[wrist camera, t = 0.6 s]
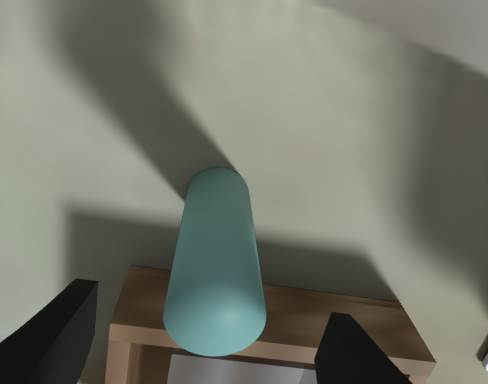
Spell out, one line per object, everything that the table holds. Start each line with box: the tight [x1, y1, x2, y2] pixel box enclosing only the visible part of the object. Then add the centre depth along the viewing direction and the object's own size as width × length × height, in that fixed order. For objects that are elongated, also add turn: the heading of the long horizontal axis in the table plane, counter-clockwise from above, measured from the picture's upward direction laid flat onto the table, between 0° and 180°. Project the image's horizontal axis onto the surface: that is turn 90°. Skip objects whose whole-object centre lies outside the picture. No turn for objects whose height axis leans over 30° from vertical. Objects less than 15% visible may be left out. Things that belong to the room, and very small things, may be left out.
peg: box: [163, 167, 266, 356], centre depth 17 cm, size 3×3×9 cm
